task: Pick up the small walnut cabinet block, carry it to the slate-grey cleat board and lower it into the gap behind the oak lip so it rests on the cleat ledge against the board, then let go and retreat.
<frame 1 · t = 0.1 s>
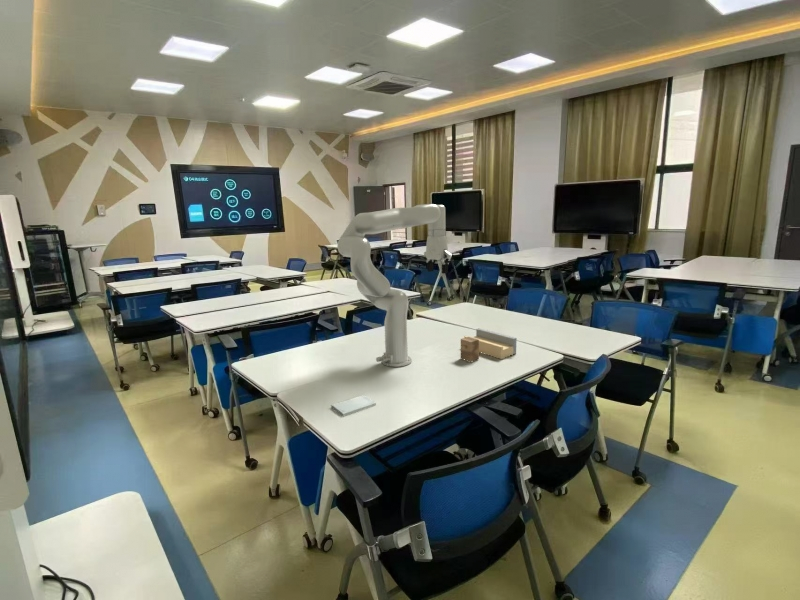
hand: (437, 272, 182), 37 cm above the table, tool pointing down, fingers open, 9 cm apart
hard drive: (353, 408, 135), on the table
cabinet block: (469, 359, 176), on the table
cleat board: (495, 348, 189), on the table
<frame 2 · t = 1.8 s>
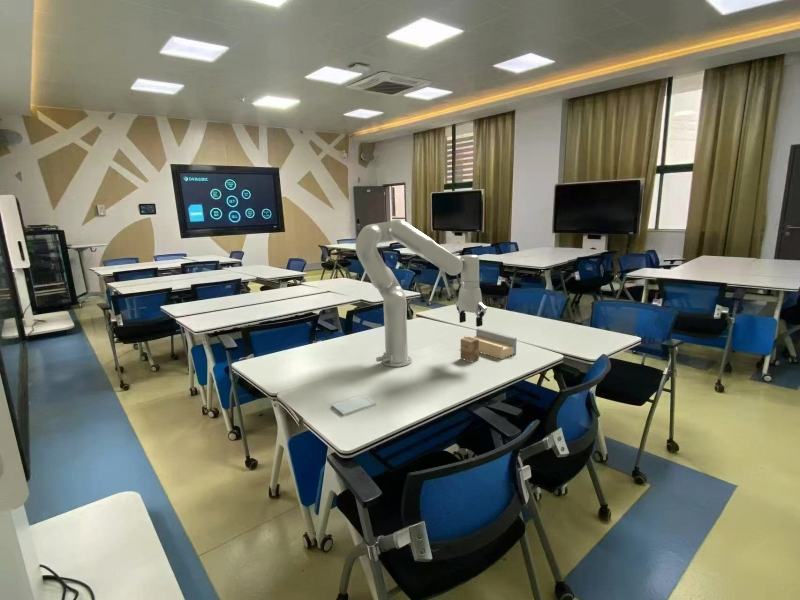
hand: (470, 324, 173), 16 cm above the table, tool pointing down, fingers open, 9 cm apart
nothing on the table moved.
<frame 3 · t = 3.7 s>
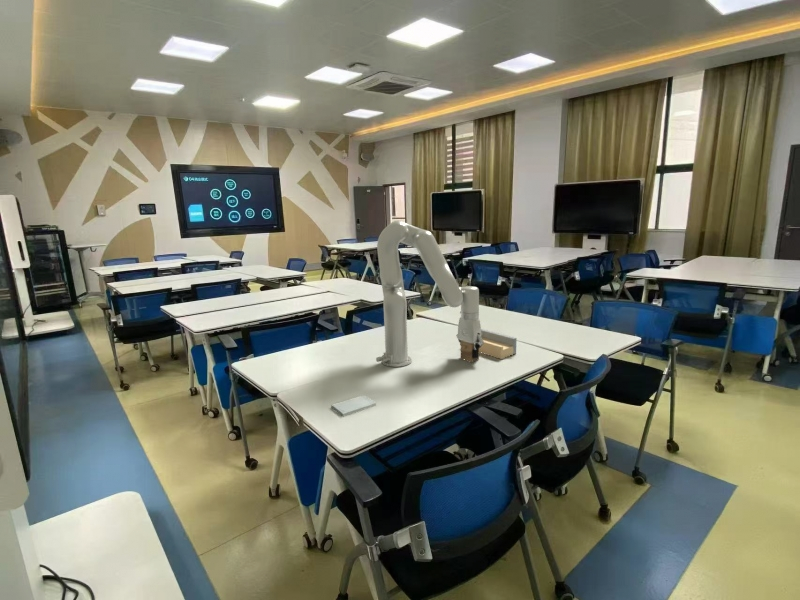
hand: (469, 355, 176), 2 cm above the table, tool pointing down, fingers closed on cabinet block, 6 cm apart
cabinet block: (469, 359, 176), on the table, touching gripper
everything else where it was.
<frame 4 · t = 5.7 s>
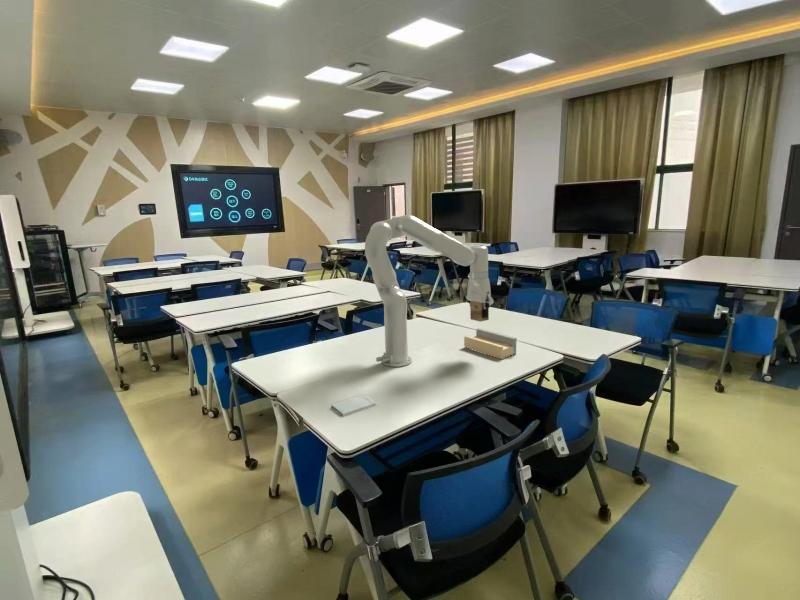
hand: (479, 315, 177), 18 cm above the table, tool pointing down, fingers closed on cabinet block, 6 cm apart
cabinet block: (479, 319, 177), point 16 cm above the table, touching gripper
everything else where it was.
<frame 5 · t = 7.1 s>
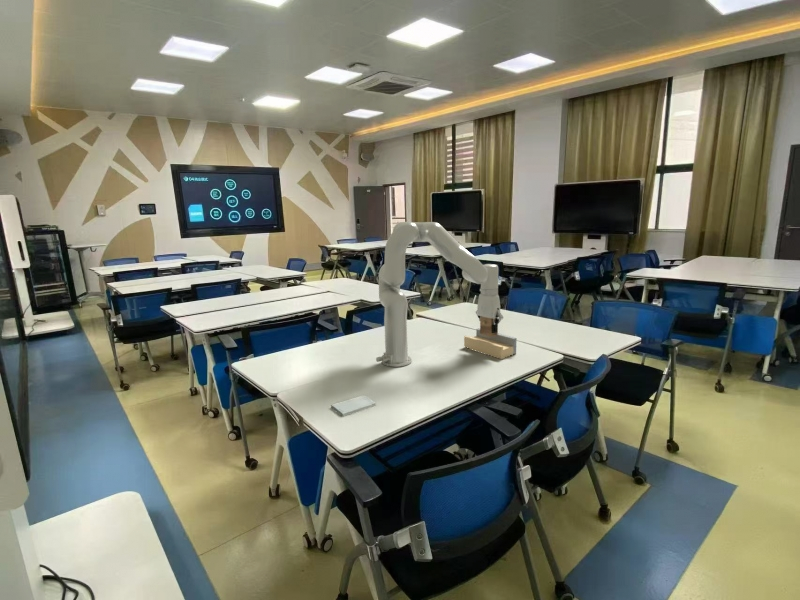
hand: (488, 330, 184), 10 cm above the table, tool pointing down, fingers closed on cabinet block, 6 cm apart
cabinet block: (488, 334, 185), point 8 cm above the table, touching gripper
everything else where it was.
when the fingers open (7 cm above the table, at t = 8.2 s): cabinet block drops 1 cm, resting on cleat board.
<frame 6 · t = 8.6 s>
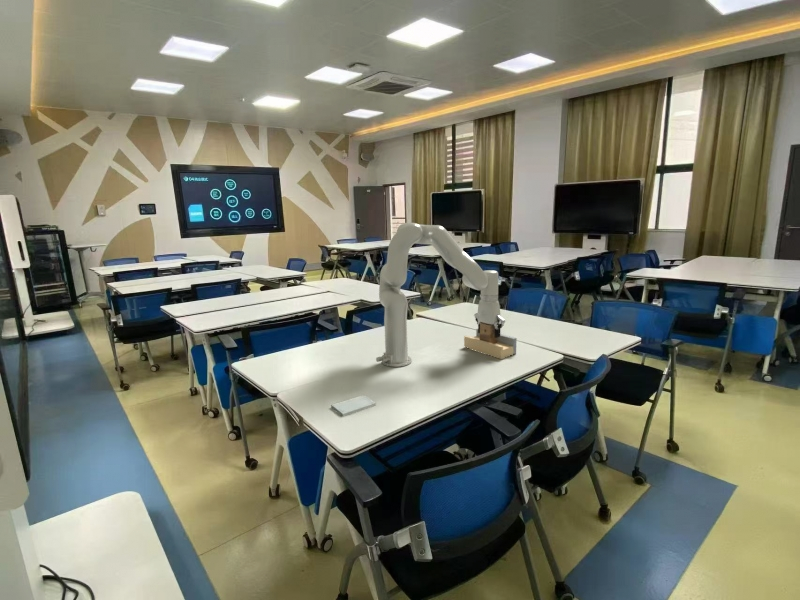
hand: (488, 334, 185), 8 cm above the table, tool pointing down, fingers open, 9 cm apart
cabinet block: (488, 342, 186), point 4 cm above the table, touching cleat board
everything else where it was.
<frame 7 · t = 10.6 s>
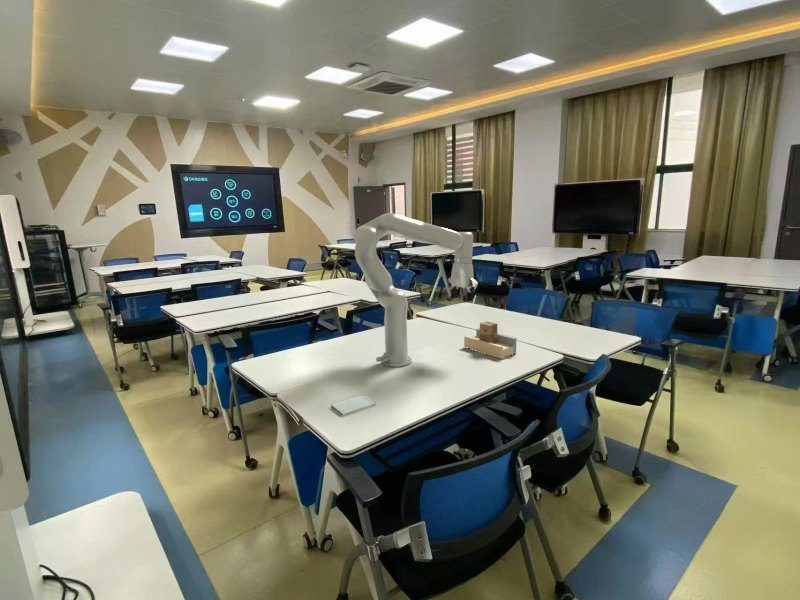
hand: (461, 299, 180), 25 cm above the table, tool pointing down, fingers open, 9 cm apart
nothing on the table moved.
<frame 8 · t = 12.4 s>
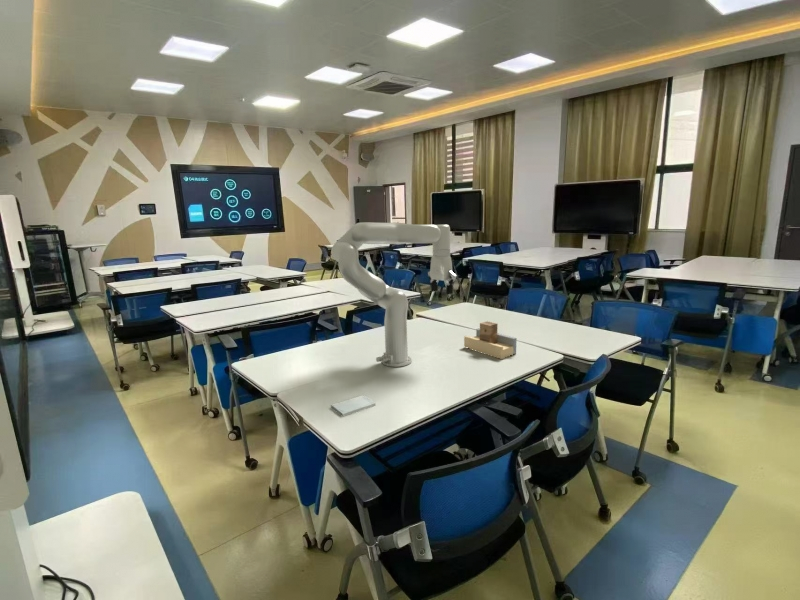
hand: (441, 292, 179), 28 cm above the table, tool pointing down, fingers open, 9 cm apart
nothing on the table moved.
at the end: cabinet block inside the target area on the cleat board (0.2 cm from its centre), point 4.0 cm above the cleat board's base; cabinet block tilted 0°; the gripper is holding nothing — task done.
